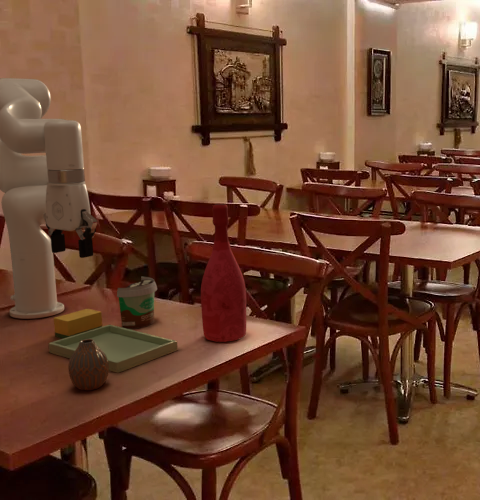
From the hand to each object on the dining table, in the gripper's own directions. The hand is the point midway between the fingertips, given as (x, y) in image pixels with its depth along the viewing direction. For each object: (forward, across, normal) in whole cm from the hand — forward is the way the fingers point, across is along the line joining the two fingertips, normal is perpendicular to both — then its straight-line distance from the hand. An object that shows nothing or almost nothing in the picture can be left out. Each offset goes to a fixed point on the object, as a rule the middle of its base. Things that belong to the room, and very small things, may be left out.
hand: (72, 254), depth 157 cm
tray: (+18, +17, -4) cm, 25 cm away
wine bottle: (+18, +30, +16) cm, 39 cm away
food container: (+18, +7, +13) cm, 24 cm away
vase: (+18, +29, -19) cm, 39 cm away
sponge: (+18, 0, 0) cm, 18 cm away
